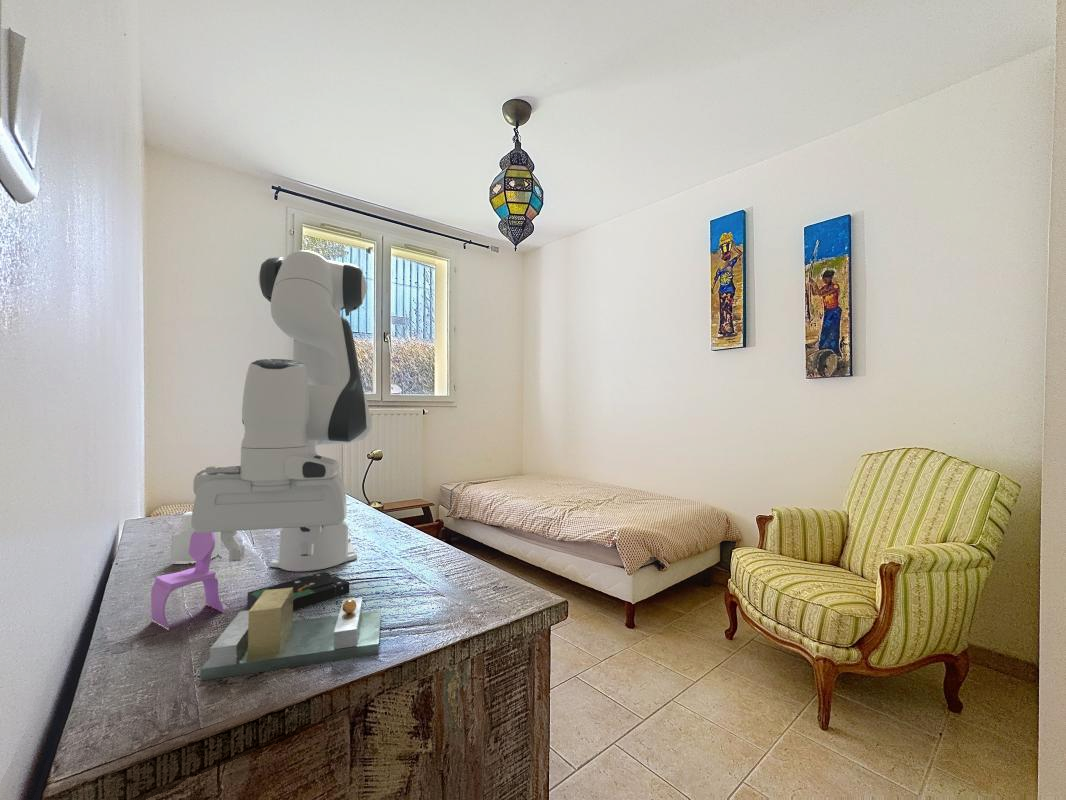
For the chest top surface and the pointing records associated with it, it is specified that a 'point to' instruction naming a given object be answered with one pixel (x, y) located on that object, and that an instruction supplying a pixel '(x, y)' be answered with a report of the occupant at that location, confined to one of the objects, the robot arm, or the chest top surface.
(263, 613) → the brass block
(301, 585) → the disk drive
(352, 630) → the sliding jaw
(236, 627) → the vise
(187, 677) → the chest top surface
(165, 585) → the toy chair
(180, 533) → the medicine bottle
